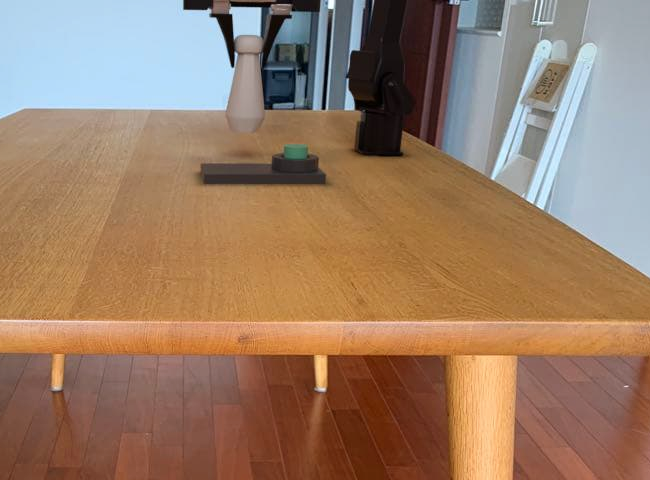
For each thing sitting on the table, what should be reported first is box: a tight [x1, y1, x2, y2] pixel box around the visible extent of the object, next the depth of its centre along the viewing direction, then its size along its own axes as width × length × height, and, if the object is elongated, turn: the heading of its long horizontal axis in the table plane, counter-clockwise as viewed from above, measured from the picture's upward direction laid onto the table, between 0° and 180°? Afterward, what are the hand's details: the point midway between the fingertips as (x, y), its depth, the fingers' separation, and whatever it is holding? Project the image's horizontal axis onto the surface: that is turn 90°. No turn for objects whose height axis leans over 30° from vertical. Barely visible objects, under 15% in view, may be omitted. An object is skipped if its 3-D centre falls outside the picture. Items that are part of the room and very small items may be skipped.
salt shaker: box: [225, 34, 266, 134], centre depth 117 cm, size 6×6×13 cm
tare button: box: [283, 143, 309, 159], centre depth 108 cm, size 3×3×2 cm
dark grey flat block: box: [200, 152, 327, 185], centre depth 109 cm, size 16×8×3 cm, turn 93°
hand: (247, 67), depth 116 cm, fingers closed on salt shaker, 4 cm apart
